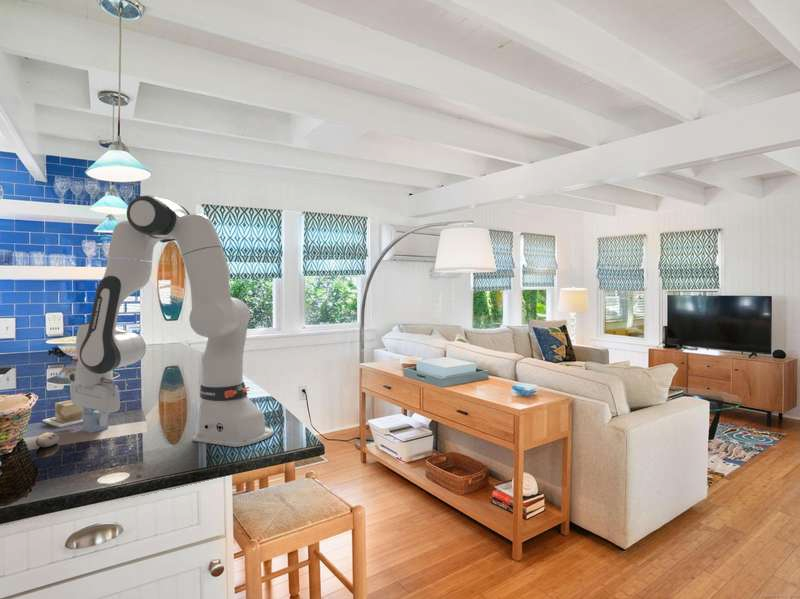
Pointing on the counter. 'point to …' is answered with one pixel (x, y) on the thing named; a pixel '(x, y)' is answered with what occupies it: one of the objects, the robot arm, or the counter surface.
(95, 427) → the blue cube
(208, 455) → the counter surface
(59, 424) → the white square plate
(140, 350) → the robot arm
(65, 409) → the oak block
